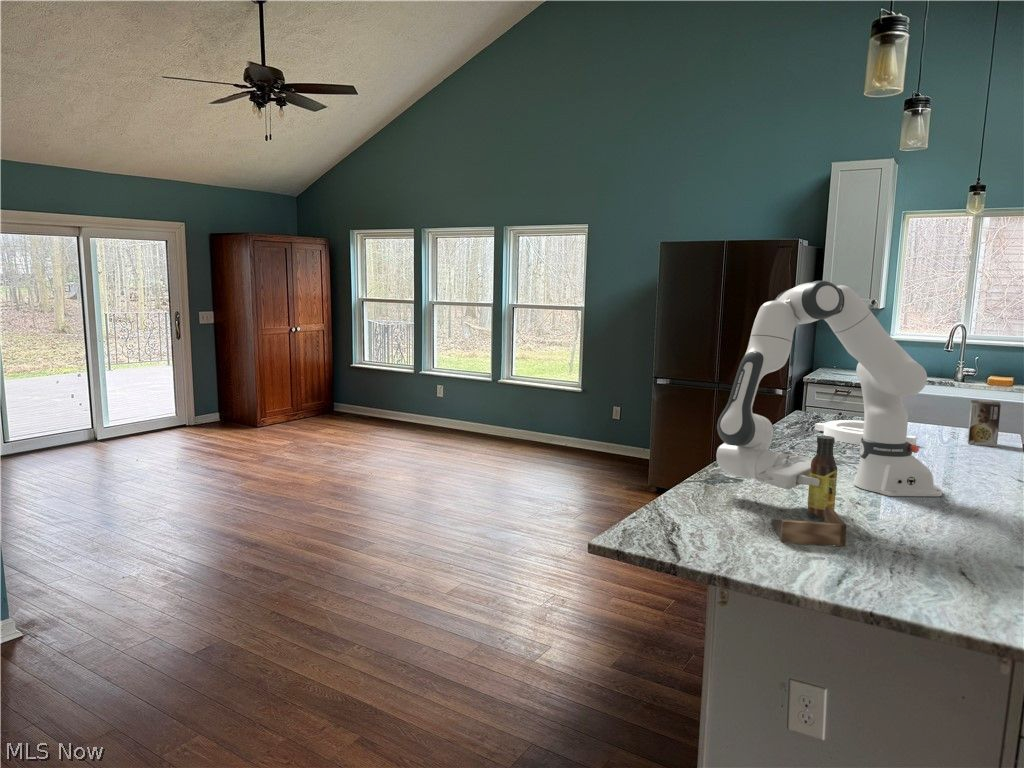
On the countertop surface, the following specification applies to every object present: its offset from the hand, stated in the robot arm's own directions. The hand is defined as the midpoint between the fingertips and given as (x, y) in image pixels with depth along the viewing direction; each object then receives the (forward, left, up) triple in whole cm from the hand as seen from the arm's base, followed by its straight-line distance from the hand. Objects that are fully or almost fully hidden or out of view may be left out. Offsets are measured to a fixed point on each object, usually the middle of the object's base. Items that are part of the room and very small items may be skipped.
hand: (826, 479), depth 169 cm
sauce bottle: (+1, -1, -9) cm, 9 cm away
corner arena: (+7, +13, -10) cm, 18 cm away
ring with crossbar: (-38, -101, -11) cm, 109 cm away
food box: (-79, -100, -10) cm, 128 cm away
